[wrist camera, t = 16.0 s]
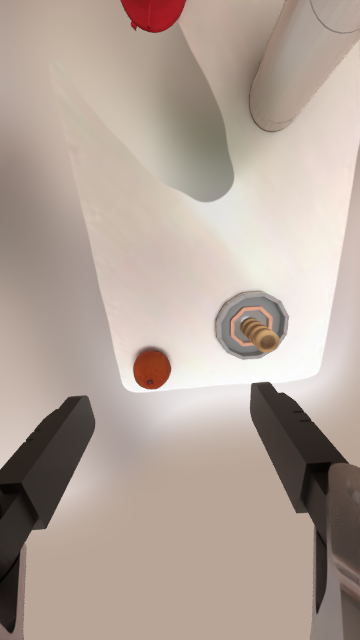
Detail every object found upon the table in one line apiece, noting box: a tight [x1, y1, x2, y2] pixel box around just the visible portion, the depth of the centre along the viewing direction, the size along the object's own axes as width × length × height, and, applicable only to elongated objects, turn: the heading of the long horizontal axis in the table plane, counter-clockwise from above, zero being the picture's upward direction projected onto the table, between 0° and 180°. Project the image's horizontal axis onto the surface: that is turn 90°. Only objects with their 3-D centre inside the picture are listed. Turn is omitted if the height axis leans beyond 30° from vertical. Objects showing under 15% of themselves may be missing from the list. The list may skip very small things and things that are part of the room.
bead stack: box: [240, 318, 279, 353], centre depth 38 cm, size 4×4×9 cm
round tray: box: [216, 291, 289, 360], centre depth 42 cm, size 16×16×2 cm
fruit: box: [133, 351, 171, 389], centre depth 42 cm, size 9×9×8 cm
